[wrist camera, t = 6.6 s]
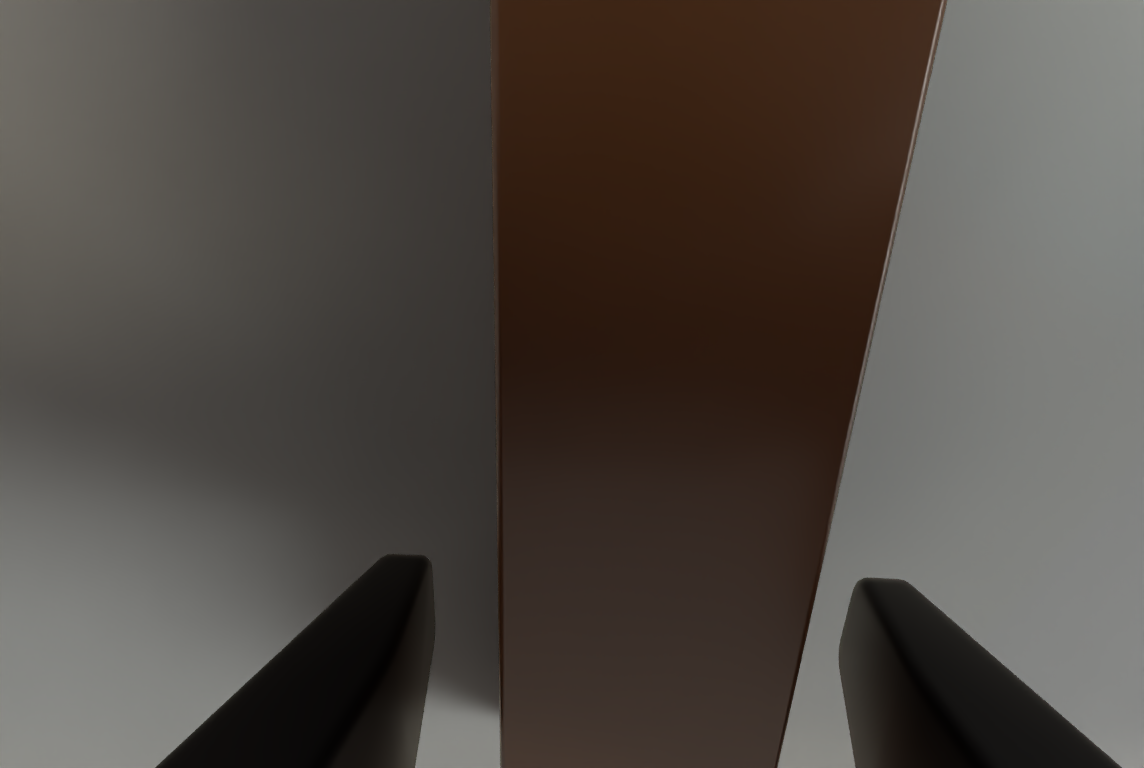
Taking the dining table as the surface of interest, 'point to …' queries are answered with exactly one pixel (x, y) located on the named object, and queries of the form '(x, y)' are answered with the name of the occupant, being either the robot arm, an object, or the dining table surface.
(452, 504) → the dining table surface
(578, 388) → the spatula
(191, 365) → the dining table surface
